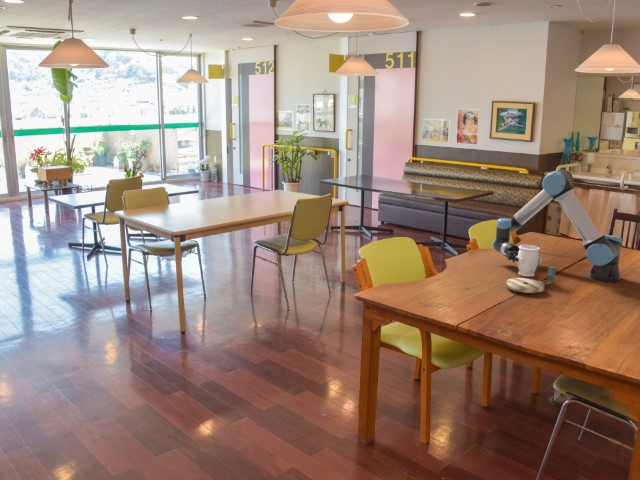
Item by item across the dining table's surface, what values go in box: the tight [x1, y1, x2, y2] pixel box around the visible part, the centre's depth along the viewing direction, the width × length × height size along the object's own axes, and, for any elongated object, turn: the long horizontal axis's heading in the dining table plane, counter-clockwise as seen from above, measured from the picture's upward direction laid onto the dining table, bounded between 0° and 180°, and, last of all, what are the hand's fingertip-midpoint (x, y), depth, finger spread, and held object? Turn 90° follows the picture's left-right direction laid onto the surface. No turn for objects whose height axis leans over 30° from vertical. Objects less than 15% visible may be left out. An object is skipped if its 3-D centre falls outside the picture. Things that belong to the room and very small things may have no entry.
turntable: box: [505, 266, 557, 294], centre depth 301 cm, size 27×18×8 cm, turn 115°
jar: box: [517, 244, 541, 277], centre depth 317 cm, size 11×10×15 cm
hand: (531, 261), depth 312 cm, fingers closed on jar, 10 cm apart
